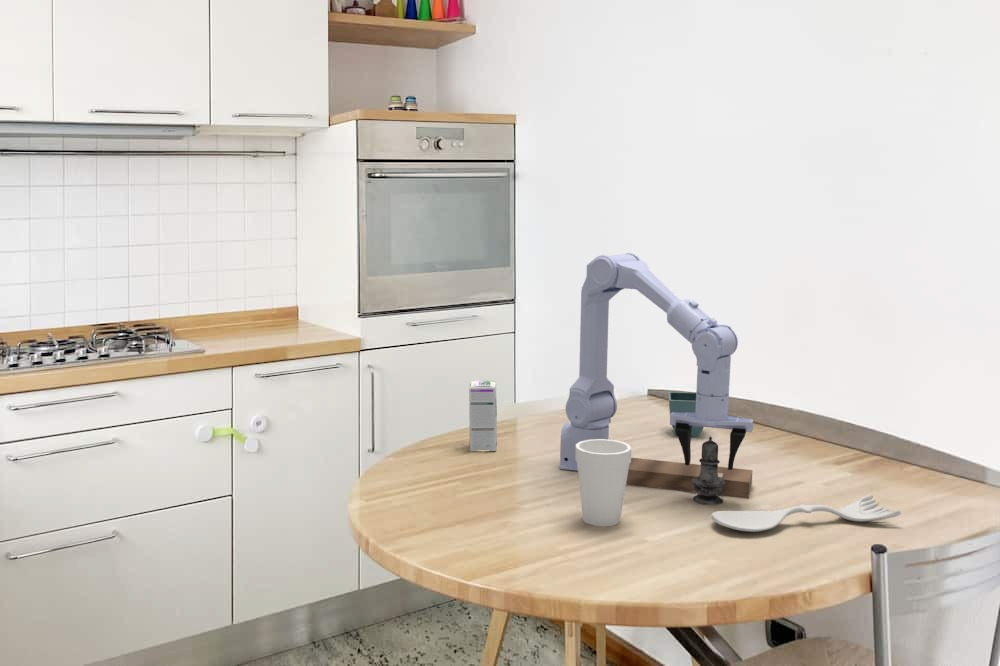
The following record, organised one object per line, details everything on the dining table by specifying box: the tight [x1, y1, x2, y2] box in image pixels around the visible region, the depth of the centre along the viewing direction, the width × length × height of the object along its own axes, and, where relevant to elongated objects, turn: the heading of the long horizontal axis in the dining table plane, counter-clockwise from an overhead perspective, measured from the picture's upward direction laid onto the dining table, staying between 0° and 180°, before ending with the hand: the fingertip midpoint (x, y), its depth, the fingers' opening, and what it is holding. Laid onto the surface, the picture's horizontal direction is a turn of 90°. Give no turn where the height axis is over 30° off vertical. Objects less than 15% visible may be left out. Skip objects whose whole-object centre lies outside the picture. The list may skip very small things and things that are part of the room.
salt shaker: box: [692, 436, 725, 506], centre depth 171 cm, size 6×6×12 cm
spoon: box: [711, 494, 902, 533], centre depth 160 cm, size 9×32×4 cm, turn 102°
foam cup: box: [575, 439, 632, 528], centre depth 160 cm, size 10×9×13 cm
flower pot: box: [668, 391, 705, 438], centre depth 216 cm, size 9×9×9 cm
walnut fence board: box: [626, 457, 753, 499], centre depth 180 cm, size 24×8×3 cm, turn 71°
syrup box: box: [468, 380, 498, 452], centre depth 202 cm, size 6×6×14 cm
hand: (708, 466), depth 171 cm, fingers open, 7 cm apart
